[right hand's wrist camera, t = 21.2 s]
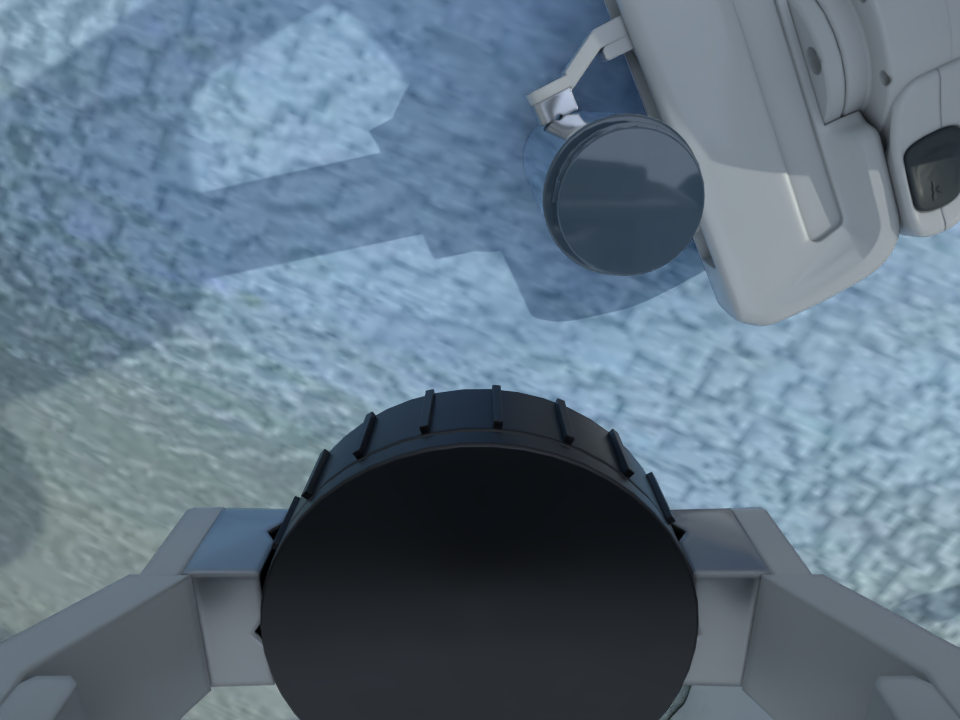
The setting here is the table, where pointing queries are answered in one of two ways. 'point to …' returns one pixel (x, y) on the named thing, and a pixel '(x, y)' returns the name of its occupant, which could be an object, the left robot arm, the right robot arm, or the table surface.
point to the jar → (615, 189)
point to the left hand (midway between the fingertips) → (559, 175)
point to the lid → (479, 571)
